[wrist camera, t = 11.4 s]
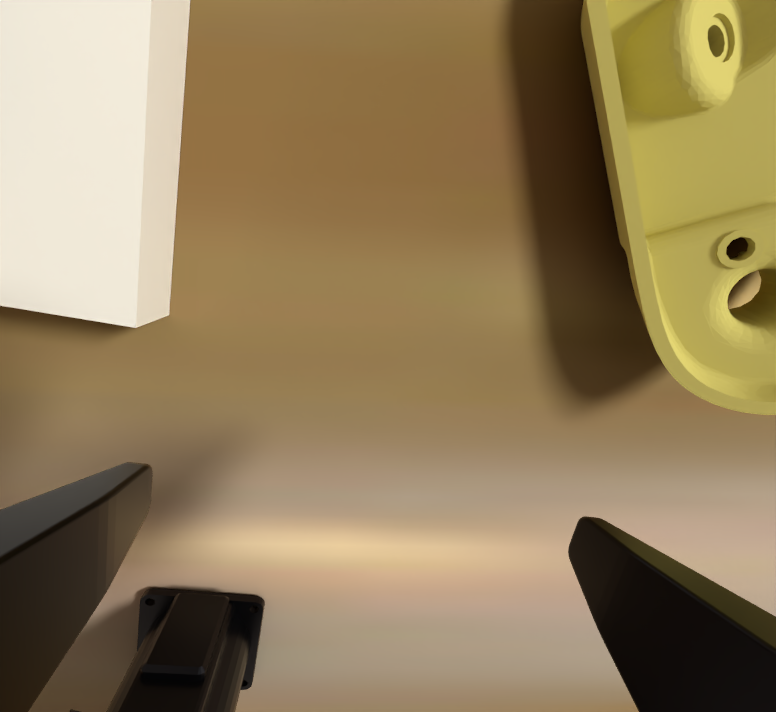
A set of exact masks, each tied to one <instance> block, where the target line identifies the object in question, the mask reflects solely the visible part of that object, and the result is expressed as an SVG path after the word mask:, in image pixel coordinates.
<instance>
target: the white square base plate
mask: <svg viewBox="0 0 776 712" xmlns="http://www.w3.org/2000/svg"><path fill="white" fill-rule="evenodd" d="M189 11H190V0H0V306H6V307H12V308H18V309H24V310H30V311H36V312H42V313H48V314H54V315H60V316H67V317H73V318H79V319H85V320H91V321H97V322H103V323H109V324H115V325H121V326H127V327H133V328H137V327H140V326H142V325H145V324H147V323H150V322H153V321H155V320H158V319H160V318H163V317H166V316H168V315H169V308H170V293H171V278H172V264H173V249H174V234H175V219H176V204H177V189H178V174H179V160H180V145H181V130H182V115H183V100H184V85H185V70H186V56H187V41H188V26H189Z"/></svg>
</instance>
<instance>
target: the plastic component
mask: <svg viewBox="0 0 776 712" xmlns="http://www.w3.org/2000/svg"><path fill="white" fill-rule="evenodd" d="M581 34H582V39H583V44H584V50H585V55H586V61H587V66H588V72H589V77H590V83H591V88H592V93H593V99H594V104H595V110H596V115H597V121H598V126H599V132H600V137H601V142H602V148H603V153H604V159H605V164H606V170H607V175H608V181H609V186H610V191H611V197H612V202H613V208H614V213H615V219H616V224H617V230H618V235H619V240H620V244H621V246H622V247H623V248H624V249H625V252H626V255H627V259H628V265H629V270H630V276H631V280H632V285H633V289H634V293H635V296H636V299H637V302H638V305H639V308H640V311H641V313H642V316H643V319H644V322H645V325H646V328H647V330H648V333H649V335H650V338H651V340H652V343H653V345H654V347H655V350H656V352H657V354H658V355H659V357H660V359H661V361H662V362H663V364H664V366H665V367H666V368H667V370H668V371H669V372H670V374H671V375H672V376H673V377H674V378H675V379H676V380H677V381H678V382H679V383H680V384H681V385H682V386H683V387H684V388H686V389H687V390H689V391H690V392H692V393H693V394H695V395H696V396H698V397H700V398H702V399H704V400H706V401H708V402H710V403H712V404H715V405H718V406H721V407H724V408H727V409H731V410H735V411H739V412H743V413H752V414H762V415H776V0H584V2H583V8H582V14H581ZM739 237H742V238H745V239H746V241H747V243H748V248H747V251H746V252H745V251H741V252H740V253H739V255H738V256H737V257H733V258H729V257H728V256H727V255H726V249H727V246H728V245H729V244H730V242H731V241H732V240H735V239H737V238H739ZM756 270H758V271H759V273H760V276H761V280H762V281H761V285H760V290H759V292H758V293H757V294H756V295H755V296H754V298H753V299H752V300H751V301H750V302H748V303H746V304H744V305H742V306H741V307H737V308H732V309H728V304H727V300H728V295H729V293H730V290H731V289H732V288H733V286H734V285H735V284H736V283H737V282H738V281H739V280H740V279H741V278H742V277H744V276H745V275H747V274H749V273H751V272H754V271H756Z"/></svg>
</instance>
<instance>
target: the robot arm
mask: <svg viewBox="0 0 776 712" xmlns="http://www.w3.org/2000/svg"><path fill="white" fill-rule="evenodd" d="M151 488H152V468H151V466H150V465H148V464H141V463H133V462H127V463H124V464H121V465H119V466H116V467H113V468H111V469H108V470H105V471H103V472H100V473H97V474H95V475H92V476H89V477H87V478H84V479H81V480H79V481H76V482H73V483H71V484H68V485H65V486H63V487H60V488H57V489H55V490H52V491H50V492H47V493H44V494H42V495H39V496H36V497H34V498H31V499H28V500H26V501H23V502H20V503H18V504H15V505H12V506H10V507H7V508H4V509H2V510H0V712H28V711H29V709H30V708H31V706H32V705H33V703H34V702H35V700H36V698H37V697H38V695H39V694H40V692H41V691H42V689H43V688H44V686H45V685H46V683H47V682H48V680H49V679H50V677H51V676H52V674H53V673H54V671H55V670H56V668H57V667H58V665H59V664H60V662H61V661H62V659H63V658H64V656H65V655H66V653H67V652H68V650H69V649H70V647H71V646H72V644H73V643H74V641H75V639H76V638H77V636H78V635H79V633H80V632H81V630H82V629H83V627H84V626H85V624H86V623H87V621H88V620H89V618H90V617H91V615H92V614H93V612H94V611H95V609H96V608H97V606H98V605H99V603H100V601H101V600H102V598H103V597H104V595H105V593H106V592H107V590H108V588H109V586H110V584H111V583H112V581H113V579H114V577H115V575H116V573H117V571H118V569H119V567H120V566H121V564H122V562H123V560H124V558H125V556H126V554H127V552H128V550H129V548H130V547H131V545H132V543H133V541H134V539H135V537H136V535H137V533H138V531H139V529H140V527H141V526H142V524H143V522H144V520H145V518H146V516H147V514H148V511H149V508H150V503H151ZM568 553H569V559H570V562H571V564H572V567H573V569H574V571H575V574H576V576H577V579H578V581H579V584H580V586H581V589H582V591H583V594H584V596H585V599H586V601H587V604H588V606H589V609H590V611H591V614H592V616H593V619H594V621H595V623H596V626H597V628H598V630H599V632H600V634H601V637H602V639H603V641H604V643H605V645H606V647H607V649H608V651H609V653H610V655H611V657H612V659H613V661H614V663H615V665H616V667H617V669H618V671H619V673H620V675H621V677H622V679H623V681H624V683H625V685H626V687H627V689H628V691H629V693H630V695H631V697H632V699H633V701H634V703H635V705H636V707H637V709H638V711H639V712H776V617H775V616H773V615H772V614H770V613H768V612H766V611H765V610H763V609H761V608H759V607H757V606H756V605H754V604H752V603H750V602H749V601H747V600H745V599H743V598H741V597H740V596H738V595H736V594H734V593H733V592H731V591H729V590H727V589H726V588H724V587H722V586H720V585H718V584H717V583H715V582H713V581H711V580H710V579H708V578H706V577H704V576H702V575H701V574H699V573H697V572H695V571H694V570H692V569H690V568H688V567H686V566H685V565H683V564H681V563H679V562H678V561H676V560H674V559H672V558H670V557H669V556H667V555H665V554H663V553H662V552H660V551H658V550H656V549H654V548H653V547H651V546H649V545H647V544H646V543H644V542H642V541H640V540H638V539H637V538H635V537H633V536H631V535H630V534H628V533H626V532H624V531H622V530H621V529H619V528H617V527H615V526H614V525H612V524H610V523H608V522H606V521H605V520H603V519H600V518H595V517H582V518H580V519H579V521H578V523H577V526H576V528H575V531H574V534H573V536H572V539H571V542H570V545H569V550H568ZM150 598H152V599H150ZM153 599H154V600H153ZM254 606H257V607H254ZM264 606H265V601H264V600H263V599H262V598H261V597H258V596H247V595H234V594H221V593H208V592H195V591H181V590H168V589H155V588H153V589H148V590H147V591H146V592H145V593H144V594H143V596H142V598H141V600H140V613H139V629H138V646H137V653H136V655H135V657H134V659H133V661H132V663H131V665H130V667H129V669H128V671H127V673H126V675H125V677H124V679H123V681H122V682H121V684H120V686H119V688H118V690H117V692H116V694H115V696H114V698H113V700H112V702H111V704H110V706H109V708H108V710H107V711H106V712H235V710H236V706H237V701H238V697H239V693H240V690H245V689H248V688H250V687H251V685H252V682H253V677H254V671H255V664H256V658H257V651H258V645H259V638H260V632H261V625H262V619H263V612H264ZM70 712H80V711H76V710H72V709H71V710H70Z"/></svg>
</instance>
